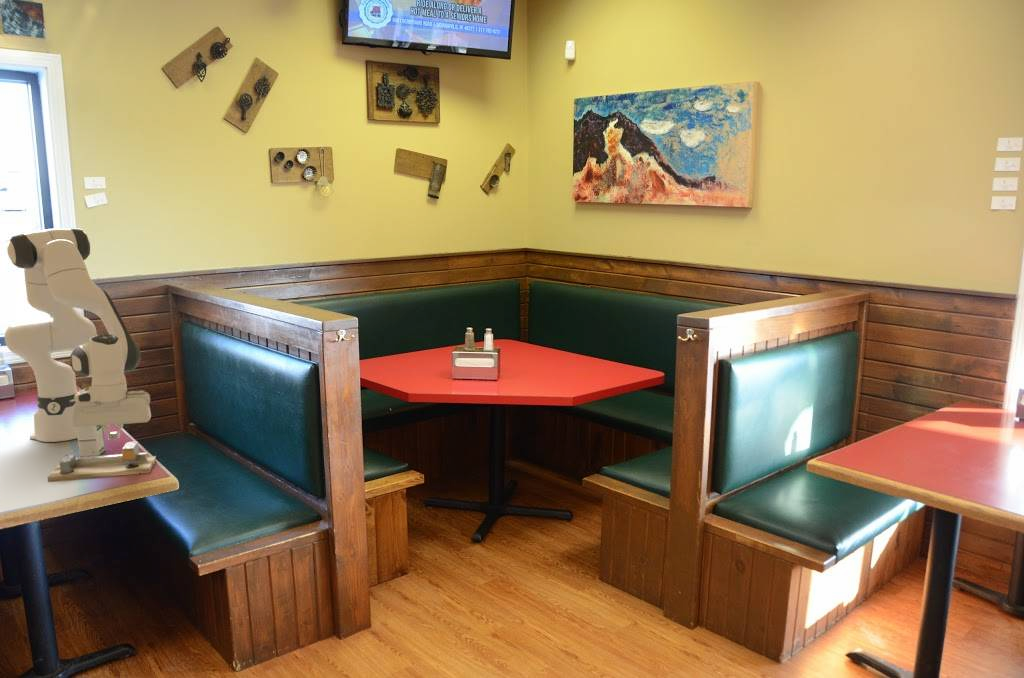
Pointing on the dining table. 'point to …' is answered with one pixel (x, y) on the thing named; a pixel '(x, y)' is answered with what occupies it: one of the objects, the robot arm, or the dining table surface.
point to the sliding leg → (130, 452)
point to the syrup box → (90, 440)
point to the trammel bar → (94, 461)
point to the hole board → (103, 470)
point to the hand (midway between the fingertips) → (114, 438)
